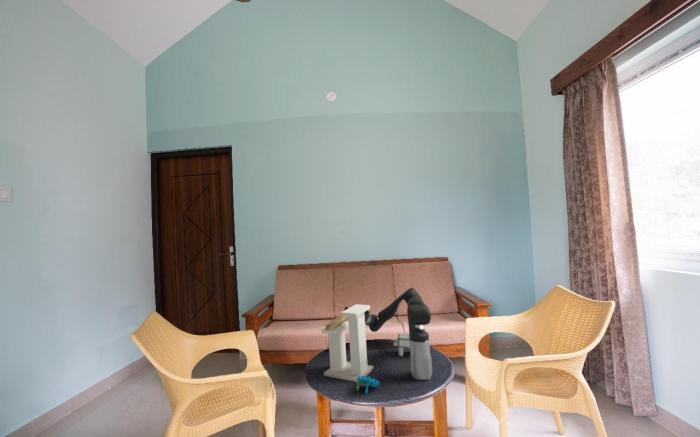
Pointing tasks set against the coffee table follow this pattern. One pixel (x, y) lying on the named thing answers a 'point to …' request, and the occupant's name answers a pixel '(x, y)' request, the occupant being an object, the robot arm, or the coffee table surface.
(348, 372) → the two-step rack
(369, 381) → the blue legged figure
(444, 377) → the coffee table surface
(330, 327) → the wooden slat
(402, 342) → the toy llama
